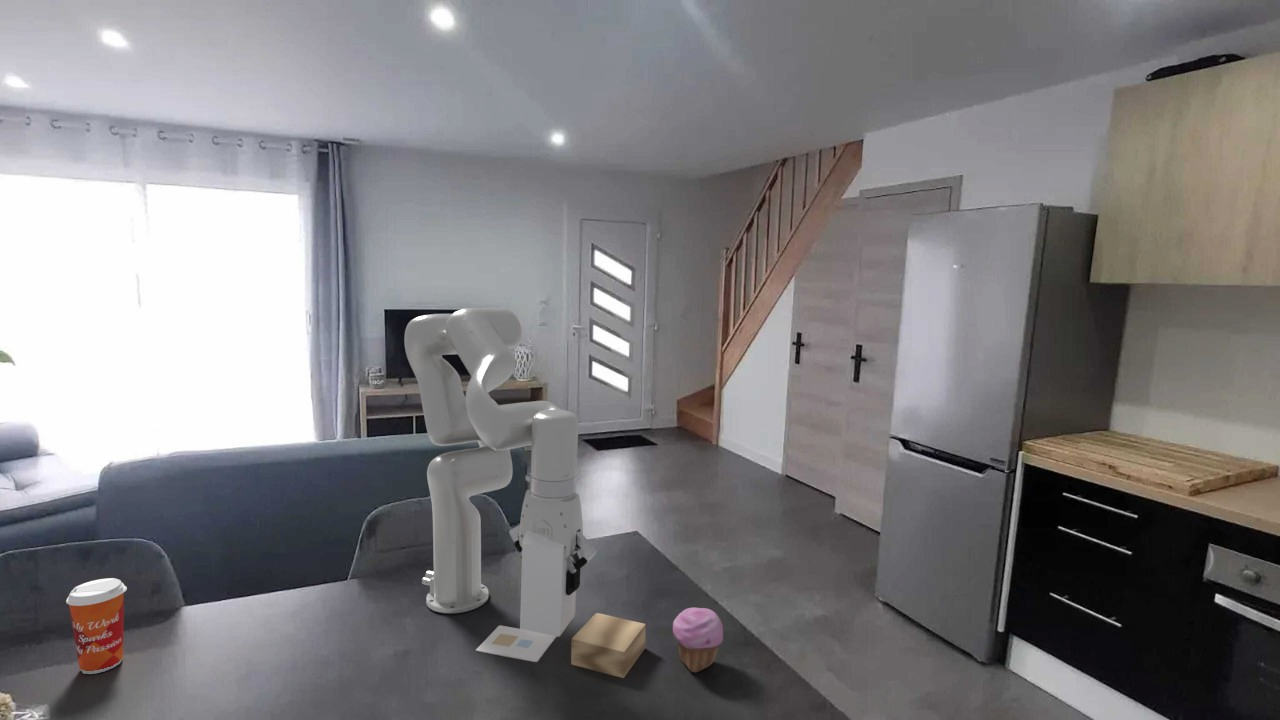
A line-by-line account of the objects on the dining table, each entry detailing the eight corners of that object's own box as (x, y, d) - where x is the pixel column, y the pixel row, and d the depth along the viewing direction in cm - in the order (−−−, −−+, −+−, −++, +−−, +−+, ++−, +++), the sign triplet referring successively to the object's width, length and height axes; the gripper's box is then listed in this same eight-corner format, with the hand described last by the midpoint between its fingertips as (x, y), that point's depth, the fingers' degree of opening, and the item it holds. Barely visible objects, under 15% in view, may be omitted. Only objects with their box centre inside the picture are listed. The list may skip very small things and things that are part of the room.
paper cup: (65, 684, 104) (58, 601, 103) (79, 659, 111) (73, 581, 110) (125, 671, 108) (120, 592, 106) (136, 648, 115) (131, 573, 113)
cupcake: (663, 656, 116) (665, 603, 115) (705, 646, 119) (707, 595, 118) (687, 684, 108) (689, 628, 107) (731, 673, 111) (734, 618, 110)
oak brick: (571, 665, 113) (571, 638, 112) (596, 637, 122) (596, 612, 122) (623, 679, 109) (624, 652, 109) (645, 649, 119) (645, 623, 118)
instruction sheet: (475, 650, 116) (475, 649, 116) (499, 626, 125) (499, 625, 125) (537, 662, 113) (536, 661, 113) (556, 636, 122) (556, 635, 122)
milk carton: (559, 638, 105) (563, 526, 102) (519, 629, 107) (522, 519, 104) (575, 616, 112) (579, 511, 109) (537, 609, 113) (540, 505, 111)
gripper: (496, 481, 107) (494, 582, 109) (587, 502, 99) (583, 609, 102) (523, 470, 113) (521, 564, 116) (610, 488, 106) (606, 588, 109)
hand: (550, 584), depth 109 cm, fingers closed on milk carton, 7 cm apart
